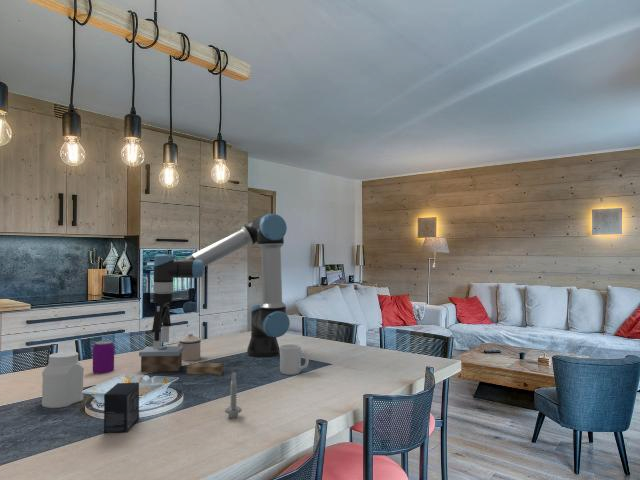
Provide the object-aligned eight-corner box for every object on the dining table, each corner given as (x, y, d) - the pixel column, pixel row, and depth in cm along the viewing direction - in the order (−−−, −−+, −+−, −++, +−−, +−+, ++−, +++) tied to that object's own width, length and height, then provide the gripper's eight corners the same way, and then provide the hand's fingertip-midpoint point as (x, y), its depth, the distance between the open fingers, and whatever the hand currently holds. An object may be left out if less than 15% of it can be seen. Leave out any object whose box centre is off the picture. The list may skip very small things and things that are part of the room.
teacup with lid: (205, 359, 204) (205, 333, 204) (189, 363, 196) (189, 336, 196) (185, 356, 210) (186, 330, 210) (170, 360, 202) (170, 333, 202)
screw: (243, 418, 132) (226, 421, 131) (239, 413, 137) (223, 415, 135) (243, 373, 133) (227, 375, 131) (239, 369, 137) (223, 370, 135)
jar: (59, 409, 139) (60, 359, 140) (35, 406, 142) (36, 357, 142) (89, 397, 150) (89, 351, 150) (66, 394, 153) (66, 349, 153)
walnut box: (181, 367, 189) (181, 350, 189) (177, 372, 181) (177, 355, 182) (146, 368, 188) (146, 351, 188) (140, 373, 180) (141, 355, 180)
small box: (116, 419, 132) (117, 382, 132) (139, 418, 132) (140, 381, 133) (102, 433, 121) (102, 393, 121) (127, 433, 122) (128, 393, 122)
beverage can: (117, 372, 181) (117, 342, 181) (97, 376, 176) (97, 344, 176) (109, 369, 186) (109, 339, 187) (89, 372, 181) (89, 342, 181)
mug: (312, 371, 184) (312, 346, 184) (304, 377, 177) (304, 350, 177) (285, 369, 189) (285, 343, 189) (276, 374, 181) (276, 347, 181)
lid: (183, 349, 191) (183, 344, 191) (178, 355, 180) (178, 350, 180) (146, 350, 189) (146, 345, 189) (138, 356, 179) (139, 350, 179)
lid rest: (222, 371, 184) (222, 362, 184) (221, 375, 178) (221, 366, 178) (189, 372, 182) (189, 363, 182) (186, 376, 176) (186, 367, 176)
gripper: (160, 289, 197) (159, 339, 197) (144, 295, 173) (142, 352, 172) (178, 290, 198) (177, 339, 198) (165, 295, 173) (163, 352, 173)
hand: (161, 345), depth 185 cm, fingers open, 13 cm apart
